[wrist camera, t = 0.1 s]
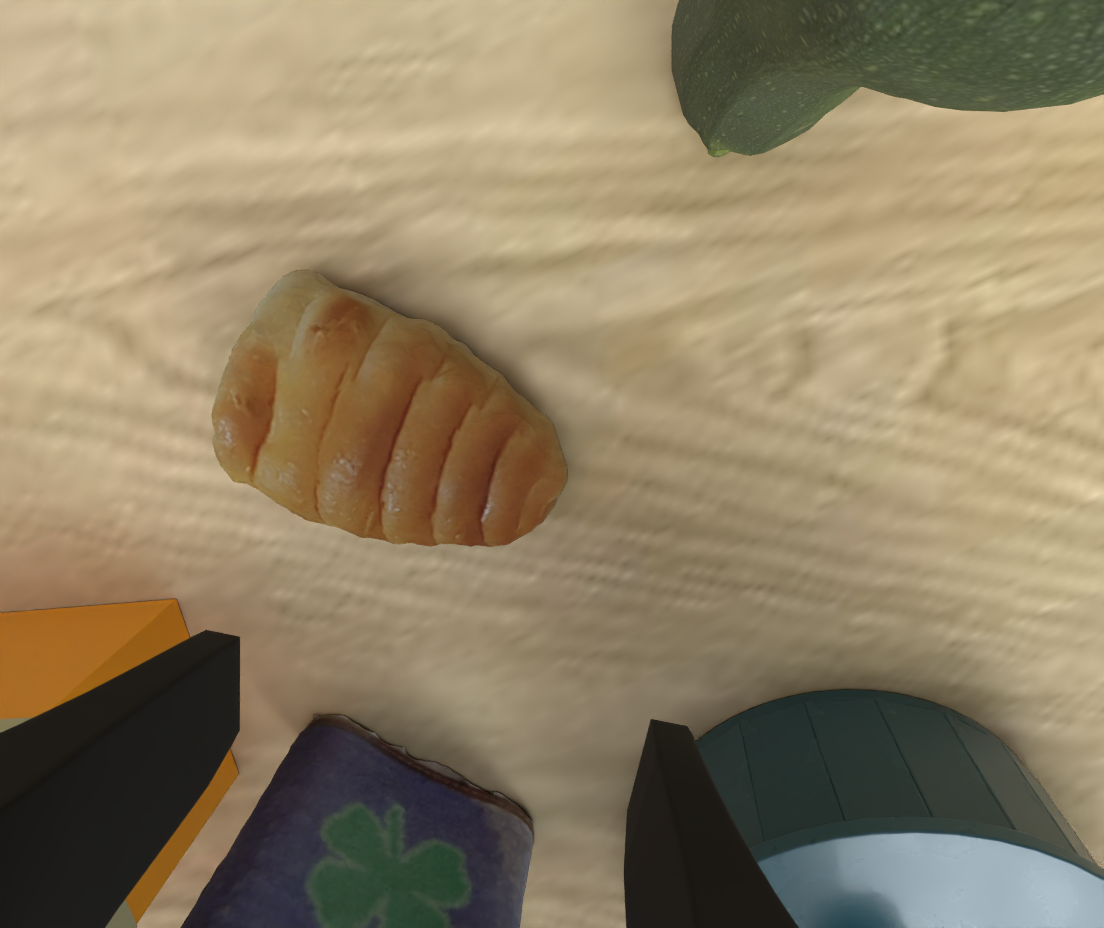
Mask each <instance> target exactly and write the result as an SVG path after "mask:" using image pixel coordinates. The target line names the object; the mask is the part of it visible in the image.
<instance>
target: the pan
mask: <svg viewBox="0 0 1104 928" xmlns="http://www.w3.org/2000/svg"><path fill="white" fill-rule="evenodd" d="M696 744H697V747H698V749H699V751H700V754H701V756H702V758H703V760H704V762H705V765H706V767H707V769H708V771H709V773H710V775H711V777H712V779H713V781H714V783H715V785H716V788H717V790H718V792H719V794H720V796H721V798H722V800H723V802H724V803H725V805H726V807H727V809H728V811H729V813H730V815H731V817H732V819H733V820H734V822H735V824H736V826H737V828H738V830H739V831H740V833H741V835H742V837H743V839H744V841H745V842H746V844H747V846H748V848H749V849H750V848H752V847H755V846H757V845H759V844H761V843H764V842H767V841H770V840H773V839H775V838H778V837H781V836H784V835H787V834H789V833H792V832H796V831H800V830H804V829H808V828H812V827H816V826H820V825H824V824H828V823H834V822H841V821H848V820H855V819H862V818H870V817H892V816H924V817H944V818H954V819H961V820H968V821H974V822H981V823H988V824H992V825H996V826H1000V827H1004V828H1008V829H1012V830H1016V831H1020V832H1024V833H1027V834H1030V835H1033V836H1035V837H1038V838H1041V839H1043V840H1046V841H1049V842H1051V843H1054V844H1057V845H1059V846H1062V847H1064V848H1066V849H1068V850H1070V851H1072V852H1074V853H1076V854H1078V855H1079V856H1081V857H1083V858H1085V859H1087V860H1089V861H1091V862H1093V863H1095V864H1096V862H1095V861H1094V859H1093V858H1092V856H1091V855H1090V854H1089V852H1088V851H1087V849H1086V848H1085V847H1084V845H1083V844H1082V842H1081V841H1080V839H1079V838H1078V837H1077V835H1076V834H1075V832H1074V831H1073V829H1072V828H1071V827H1070V825H1069V824H1068V822H1067V821H1066V819H1065V818H1064V817H1063V815H1062V814H1061V812H1060V811H1059V809H1058V808H1057V807H1056V805H1055V804H1054V802H1053V801H1052V799H1051V798H1050V797H1049V795H1048V794H1047V792H1046V791H1045V789H1044V788H1043V787H1042V785H1041V784H1040V782H1039V781H1038V780H1037V779H1036V778H1035V777H1034V776H1033V775H1032V774H1031V773H1030V772H1029V771H1028V770H1027V768H1026V767H1025V766H1024V764H1023V763H1022V762H1021V760H1020V759H1019V758H1018V756H1017V755H1016V754H1015V753H1014V752H1013V751H1012V750H1011V749H1010V748H1009V747H1008V746H1007V745H1006V744H1005V743H1004V742H1003V741H1002V740H1001V739H999V738H998V737H997V736H995V735H994V734H993V733H991V732H990V731H988V730H987V729H986V728H984V727H983V726H981V725H980V724H979V723H977V722H975V721H973V720H971V719H969V718H967V717H965V716H963V715H962V714H960V713H958V712H956V711H954V710H951V709H949V708H946V707H943V706H941V705H938V704H935V703H933V702H930V701H927V700H923V699H919V698H915V697H911V696H907V695H903V694H896V693H889V692H882V691H875V690H847V689H845V690H831V691H817V692H812V693H806V694H800V695H795V696H789V697H786V698H782V699H779V700H775V701H772V702H769V703H765V704H762V705H760V706H757V707H755V708H752V709H750V710H748V711H745V712H743V713H740V714H738V715H736V716H735V717H733V718H731V719H729V720H727V721H726V722H724V723H722V724H720V725H718V726H717V727H715V728H714V729H712V730H711V731H710V732H708V733H707V734H706V735H704V736H703V737H701V738H700V739H699V740H697V741H696ZM1096 865H1097V864H1096Z"/></svg>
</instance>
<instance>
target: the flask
mask: <svg viewBox="0 0 1104 928" xmlns="http://www.w3.org/2000/svg"><path fill="white" fill-rule="evenodd" d="M313 719H314V720H313V721H312V722H311V723H310V724H309V726H308V727H307V728H305V729H304V730H303V731H302V732H301V733H300V734H299V736H298V737H297V739H296V741H295V742H294V743H293V744H292V745H291V747H290V750H289V753H288V754H287V755H286V757H285V758H284V760H283V761H282V763H281V764H280V766H279V767H278V769H277V771H276V773H275V775H274V777H273V779H272V781H271V783H270V784H269V786H268V787H267V789H266V790H265V792H264V793H263V795H262V796H261V798H260V800H259V802H258V803H257V806H256V808H255V809H254V811H253V813H252V814H251V816H250V817H249V819H248V820H247V822H246V823H245V825H244V826H243V828H242V829H241V831H240V833H239V835H238V837H237V838H236V840H235V842H234V844H233V845H232V847H231V849H230V851H229V852H228V854H227V856H226V857H225V858H224V860H223V861H222V862H221V863H220V865H219V866H218V867H217V869H216V871H215V872H214V874H213V876H212V878H211V879H210V881H209V882H208V884H207V885H206V887H205V888H204V889H203V891H202V893H201V895H200V897H199V899H198V901H197V903H196V905H195V906H194V908H193V909H192V911H191V912H190V914H189V915H188V917H187V918H186V920H185V921H184V923H183V925H182V926H181V928H520V922H521V913H522V904H523V896H524V892H525V887H526V881H527V876H528V870H529V864H530V859H531V853H532V848H533V844H534V831H533V821H532V820H531V819H530V818H529V817H528V816H527V815H526V814H525V813H524V812H523V811H522V810H521V809H520V807H518V806H517V805H516V804H515V803H513V802H511V801H510V800H509V799H508V798H506V797H505V796H504V795H502V794H499V792H493V794H494V795H489V793H488V792H485V791H483V790H482V789H480V788H479V787H476V786H475V785H473V784H470V783H469V781H468V780H464V779H462V776H461V775H459V774H457V773H455V772H453V771H451V770H450V769H449V767H444V766H441V765H439V764H438V763H437V762H430V760H429V761H428V763H427V762H426V761H424V760H423V761H421V760H415V759H414V758H413V759H412V758H411V757H410V756H408V755H407V754H406V750H405V747H399V746H392V745H391V746H390V745H388V744H387V743H385V742H383V741H382V740H381V739H380V738H379V737H378V736H377V735H376V732H375V731H374V732H371V731H367V730H366V729H363V728H362V727H361V726H359V725H358V724H355V723H354V722H352V721H351V720H350V719H348V717H346V716H344V715H337V716H336V715H329V716H327V715H324V716H317V715H313Z"/></svg>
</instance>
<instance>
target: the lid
mask: <svg viewBox="0 0 1104 928" xmlns="http://www.w3.org/2000/svg"><path fill="white" fill-rule="evenodd" d="M750 851H751V853H752V855H753V856H754V858H755V860H756V862H757V863H758V865H759V866H760V868H761V870H762V871H763V873H764V875H765V876H766V878H767V880H768V881H769V883H770V884H771V886H772V888H773V889H774V891H775V892H776V894H777V895H778V897H779V899H780V900H781V902H782V903H783V905H784V906H785V908H786V909H787V911H788V912H789V914H790V915H791V917H792V918H793V920H794V921H795V923H796V924H797V925H798V927H799V928H1104V870H1103V869H1102V868H1101V867H1099V866H1098V865H1096V864H1095V863H1093V862H1091V861H1089V860H1087V859H1085V858H1083V857H1081V856H1079V855H1078V854H1076V853H1074V852H1072V851H1070V850H1068V849H1066V848H1064V847H1062V846H1059V845H1057V844H1054V843H1051V842H1049V841H1046V840H1043V839H1041V838H1038V837H1035V836H1033V835H1030V834H1027V833H1024V832H1020V831H1016V830H1012V829H1008V828H1004V827H1000V826H996V825H992V824H988V823H981V822H974V821H968V820H961V819H954V818H944V817H924V816H892V817H870V818H862V819H855V820H848V821H841V822H834V823H828V824H824V825H820V826H816V827H812V828H808V829H804V830H800V831H796V832H792V833H789V834H787V835H784V836H781V837H778V838H775V839H773V840H770V841H767V842H764V843H761V844H759V845H757V846H755V847H752V848H750Z"/></svg>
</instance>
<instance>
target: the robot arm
mask: <svg viewBox="0 0 1104 928" xmlns="http://www.w3.org/2000/svg"><path fill="white" fill-rule="evenodd" d="M239 731H240V637H239V636H234V635H229V634H224V633H219V632H214V631H209V630H205V631H203V632H201V633H199V634H197V635H195V636H193V637H191V638H189V639H187V640H185V641H183V642H181V643H179V644H177V645H175V646H173V647H172V648H170V649H168V650H166V651H164V652H162V653H160V654H158V655H156V656H155V657H153V658H151V659H149V660H147V661H145V662H143V663H142V664H140V665H138V666H136V667H134V668H132V669H130V670H128V671H126V672H124V673H122V674H121V675H119V676H117V677H115V678H113V679H111V680H109V681H107V682H105V683H103V684H101V685H99V686H97V687H96V688H94V689H92V690H90V691H88V692H86V693H84V694H82V695H80V696H77V697H75V698H73V699H71V700H69V701H67V702H65V703H63V704H61V705H59V706H56V707H54V708H52V709H50V710H48V711H46V712H44V713H42V714H40V715H38V716H35V717H33V718H31V719H29V720H27V721H25V722H23V723H21V724H19V725H16V726H14V727H12V728H10V729H7V730H5V731H3V732H0V928H105V927H106V926H107V925H108V923H109V922H110V920H111V919H112V917H113V916H114V914H115V913H116V911H117V910H118V908H119V907H120V906H121V904H122V903H123V902H124V900H125V899H126V898H127V896H128V895H129V894H130V892H131V891H132V889H133V888H134V887H135V885H136V884H137V883H138V881H139V880H140V879H141V877H142V876H143V875H144V873H145V872H146V871H147V869H148V868H149V866H150V865H151V864H152V862H153V861H154V860H155V858H156V857H157V856H158V854H159V853H160V852H161V850H162V849H163V848H164V846H165V845H166V843H167V842H168V841H169V839H170V838H171V837H172V835H173V834H174V833H175V831H176V830H177V829H178V827H179V826H180V824H181V823H182V822H183V820H184V819H185V818H186V816H187V815H188V813H189V812H190V811H191V809H192V808H193V807H194V805H195V804H196V802H197V801H198V800H199V798H200V797H201V796H202V794H203V793H204V791H205V790H206V788H207V787H208V786H209V784H210V782H211V781H212V779H213V777H214V776H215V774H216V772H217V770H218V769H219V767H220V765H221V763H222V762H223V760H224V758H225V756H226V755H227V753H228V751H229V749H230V747H231V745H232V744H233V742H234V740H235V738H236V736H237V734H238V732H239ZM624 887H625V908H626V928H799V927H798V925H797V924H796V923H795V921H794V920H793V918H792V917H791V915H790V914H789V912H788V911H787V909H786V908H785V906H784V905H783V903H782V902H781V900H780V899H779V897H778V895H777V894H776V892H775V891H774V889H773V888H772V886H771V884H770V883H769V881H768V880H767V878H766V876H765V875H764V873H763V871H762V870H761V868H760V866H759V865H758V863H757V862H756V860H755V858H754V856H753V855H752V853H751V851H750V849H749V848H748V846H747V844H746V842H745V841H744V839H743V837H742V835H741V833H740V831H739V830H738V828H737V826H736V824H735V822H734V820H733V819H732V817H731V815H730V813H729V811H728V809H727V807H726V805H725V803H724V802H723V800H722V798H721V796H720V794H719V792H718V790H717V788H716V785H715V783H714V781H713V779H712V777H711V775H710V773H709V771H708V769H707V767H706V765H705V762H704V760H703V758H702V756H701V754H700V751H699V749H698V747H697V744H696V742H695V740H694V738H693V735H692V733H691V731H690V730H689V728H688V727H687V726H684V725H679V724H674V723H669V722H664V721H659V720H654V719H651V721H650V725H649V729H648V733H647V737H646V740H645V744H644V748H643V752H642V756H641V760H640V763H639V767H638V771H637V775H636V779H635V783H634V786H633V790H632V794H631V798H630V802H629V806H628V809H627V823H626V839H625V858H624Z"/></svg>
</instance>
